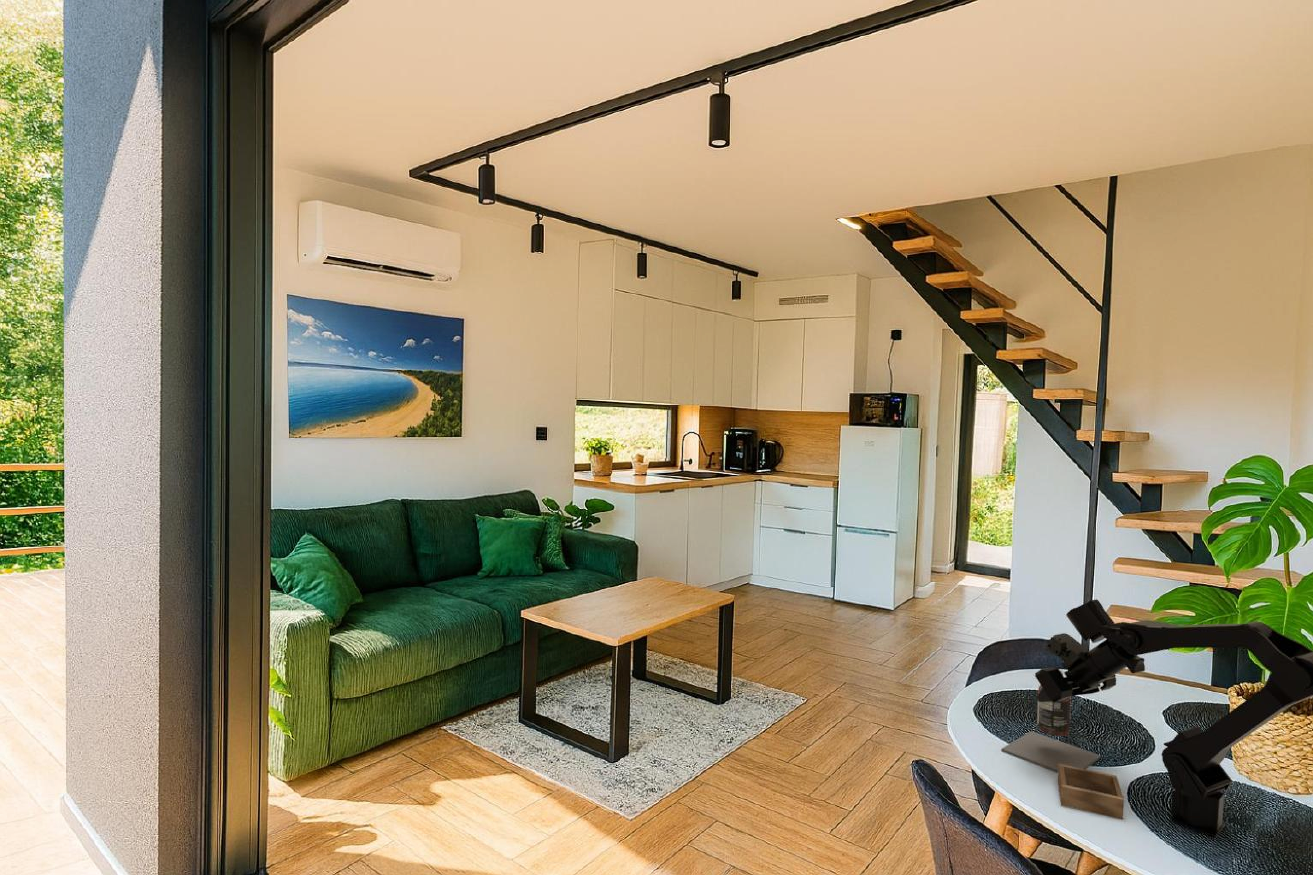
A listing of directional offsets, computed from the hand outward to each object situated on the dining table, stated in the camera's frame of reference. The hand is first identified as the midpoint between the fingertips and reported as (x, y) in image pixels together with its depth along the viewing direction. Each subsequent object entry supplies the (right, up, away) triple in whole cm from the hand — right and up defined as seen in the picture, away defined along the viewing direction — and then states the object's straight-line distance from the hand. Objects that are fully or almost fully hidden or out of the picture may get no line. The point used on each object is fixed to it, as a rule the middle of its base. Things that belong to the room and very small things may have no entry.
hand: (1047, 697), depth 153 cm
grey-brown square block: (0, -12, -1) cm, 12 cm away
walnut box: (-2, -12, -18) cm, 22 cm away
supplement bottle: (0, -7, -1) cm, 7 cm away
